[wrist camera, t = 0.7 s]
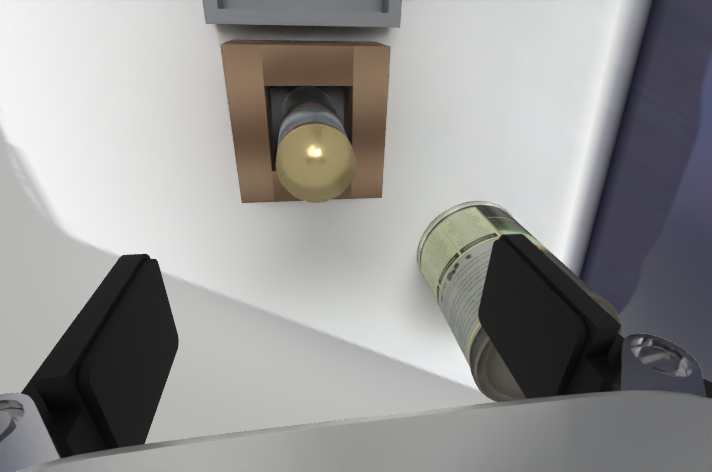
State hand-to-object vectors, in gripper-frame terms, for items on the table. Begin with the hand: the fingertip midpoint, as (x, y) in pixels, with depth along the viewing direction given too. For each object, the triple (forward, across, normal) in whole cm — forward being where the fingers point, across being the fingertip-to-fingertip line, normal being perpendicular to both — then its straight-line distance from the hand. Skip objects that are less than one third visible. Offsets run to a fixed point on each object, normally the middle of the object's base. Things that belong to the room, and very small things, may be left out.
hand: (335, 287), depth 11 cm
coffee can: (+22, -15, +13) cm, 30 cm away
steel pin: (+22, 0, 0) cm, 22 cm away
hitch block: (+22, 0, 0) cm, 22 cm away
